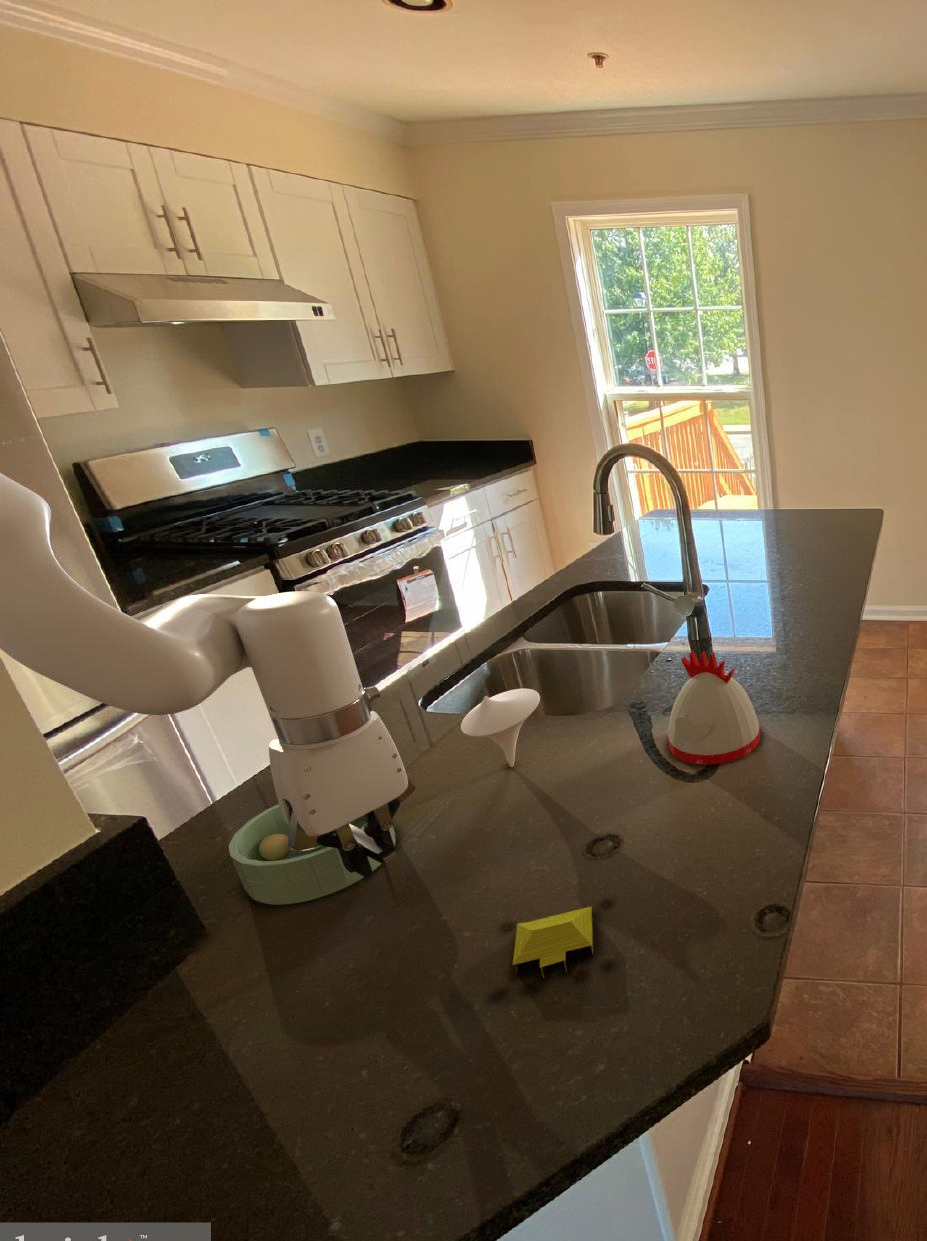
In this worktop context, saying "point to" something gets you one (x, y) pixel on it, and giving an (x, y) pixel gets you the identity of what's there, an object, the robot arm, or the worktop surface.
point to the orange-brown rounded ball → (274, 847)
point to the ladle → (380, 853)
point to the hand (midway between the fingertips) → (372, 864)
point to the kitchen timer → (711, 715)
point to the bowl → (288, 864)
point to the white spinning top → (501, 718)
